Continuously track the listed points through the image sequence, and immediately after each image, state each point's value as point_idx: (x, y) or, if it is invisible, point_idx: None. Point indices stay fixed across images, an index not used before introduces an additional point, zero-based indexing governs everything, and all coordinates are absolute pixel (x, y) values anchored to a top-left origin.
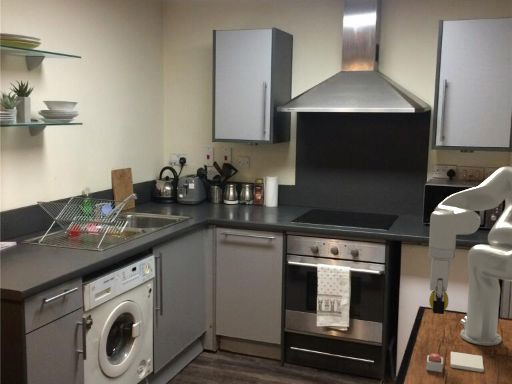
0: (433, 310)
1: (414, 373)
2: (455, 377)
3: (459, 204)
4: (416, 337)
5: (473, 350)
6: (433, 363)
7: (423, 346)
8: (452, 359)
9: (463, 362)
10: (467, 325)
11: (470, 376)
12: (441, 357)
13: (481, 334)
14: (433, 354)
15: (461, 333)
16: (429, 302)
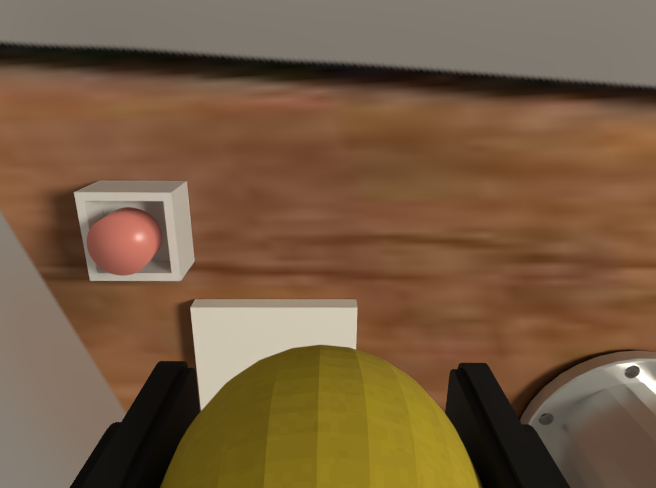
0: (147, 385)
1: (19, 115)
2: (89, 319)
3: None
4: (562, 101)
5: (445, 399)
6: (84, 228)
7: (425, 152)
8: (253, 315)
9: (238, 363)
10: (648, 427)
11: (136, 379)
12: (176, 272)
13: (562, 472)
14: (130, 235)
15: (627, 363)
16: (317, 362)
